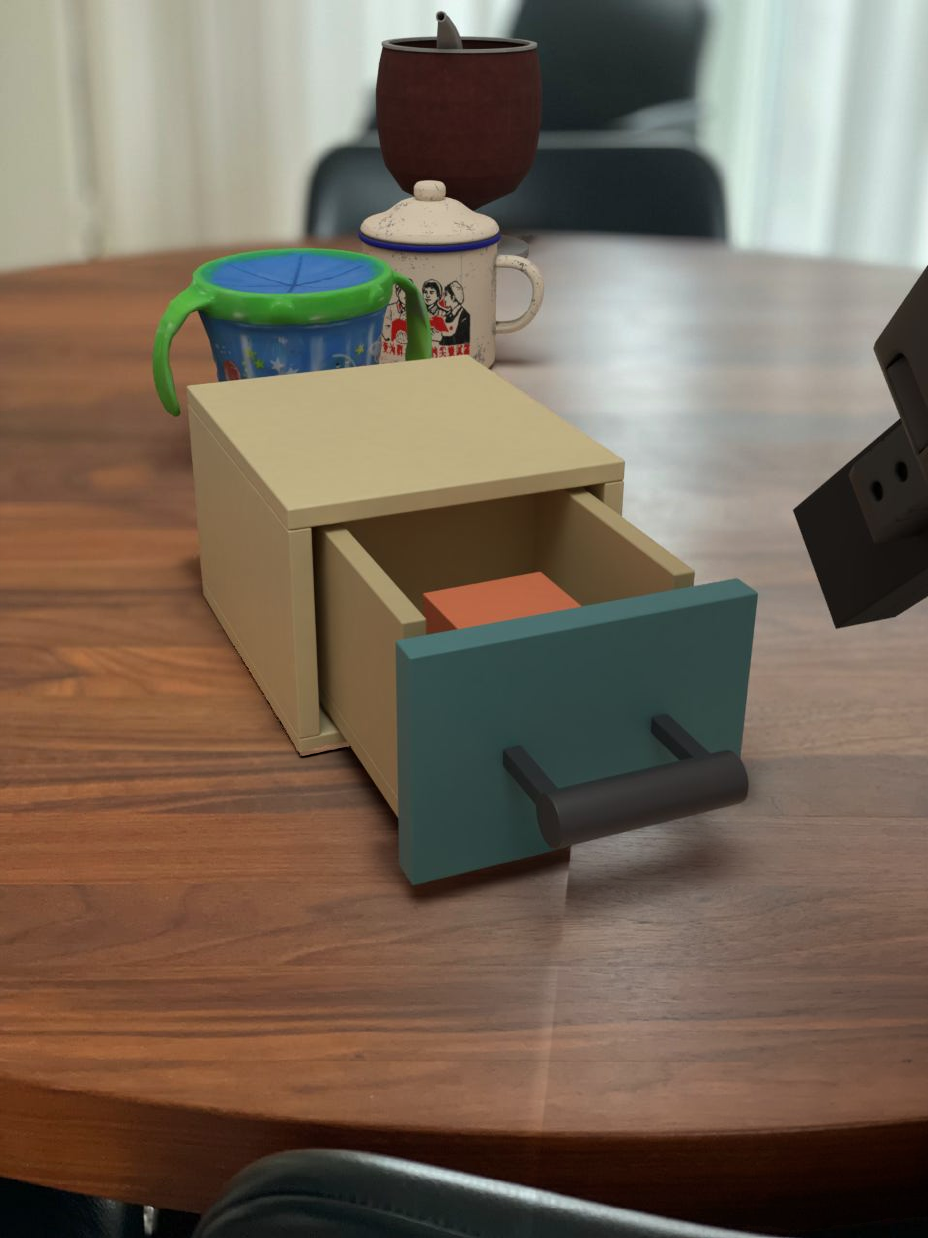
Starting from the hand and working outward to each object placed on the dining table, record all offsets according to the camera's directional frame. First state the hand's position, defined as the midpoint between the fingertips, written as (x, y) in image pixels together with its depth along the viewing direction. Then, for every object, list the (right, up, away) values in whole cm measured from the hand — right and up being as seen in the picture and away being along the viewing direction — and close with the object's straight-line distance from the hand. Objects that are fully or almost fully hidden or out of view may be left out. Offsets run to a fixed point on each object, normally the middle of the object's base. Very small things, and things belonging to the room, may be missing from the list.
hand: (844, 562), depth 30 cm
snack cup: (-17, +8, +50) cm, 54 cm away
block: (-6, -5, +20) cm, 21 cm away
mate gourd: (-9, +30, +95) cm, 101 cm away
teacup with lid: (-9, +16, +66) cm, 68 cm away
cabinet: (-11, -2, +30) cm, 32 cm away
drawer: (-6, -6, +19) cm, 21 cm away
